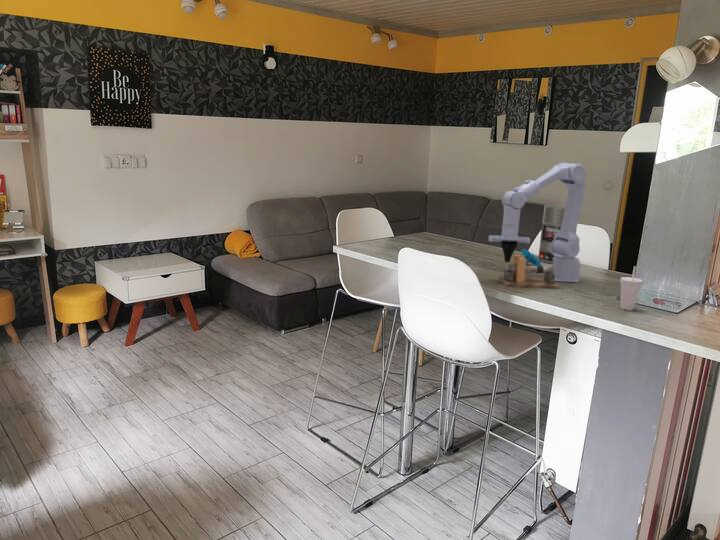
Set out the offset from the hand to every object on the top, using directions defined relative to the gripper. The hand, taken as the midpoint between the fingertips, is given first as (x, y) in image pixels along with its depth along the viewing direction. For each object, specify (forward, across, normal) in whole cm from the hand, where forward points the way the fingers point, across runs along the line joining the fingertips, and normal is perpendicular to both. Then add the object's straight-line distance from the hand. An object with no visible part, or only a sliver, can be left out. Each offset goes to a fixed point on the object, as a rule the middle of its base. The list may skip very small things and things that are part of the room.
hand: (507, 261), depth 204 cm
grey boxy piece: (+8, -30, -40) cm, 51 cm away
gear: (+8, -17, -31) cm, 36 cm away
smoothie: (+8, -32, +28) cm, 44 cm away
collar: (+7, -4, 0) cm, 8 cm away
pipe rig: (+8, -8, 0) cm, 12 cm away
